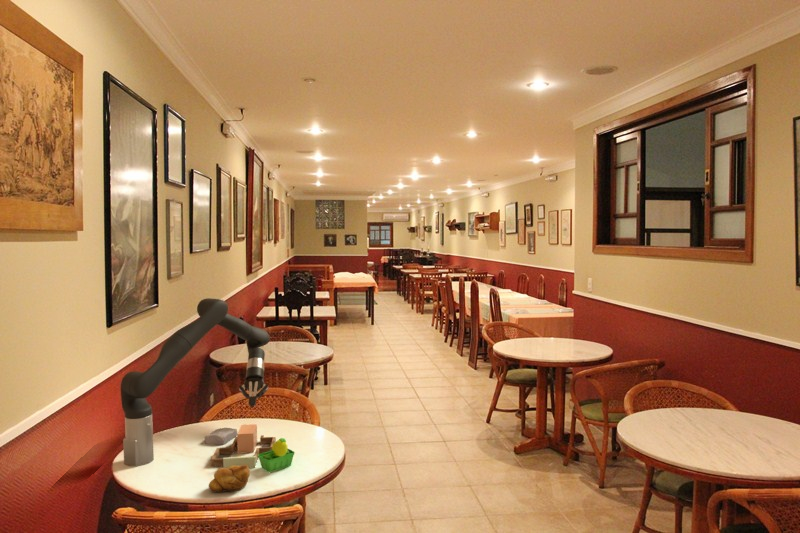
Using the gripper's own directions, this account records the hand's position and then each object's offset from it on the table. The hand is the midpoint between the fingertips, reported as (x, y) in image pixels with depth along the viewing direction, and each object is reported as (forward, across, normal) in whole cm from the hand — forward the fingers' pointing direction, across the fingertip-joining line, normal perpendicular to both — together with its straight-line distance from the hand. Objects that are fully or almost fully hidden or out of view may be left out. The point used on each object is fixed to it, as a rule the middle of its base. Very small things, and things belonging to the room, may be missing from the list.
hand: (252, 406), depth 239 cm
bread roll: (+46, -1, -28) cm, 54 cm away
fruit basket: (+35, +14, -18) cm, 42 cm away
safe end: (+34, 0, -17) cm, 38 cm away
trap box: (+25, 0, -8) cm, 26 cm away
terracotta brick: (+20, 0, -3) cm, 20 cm away
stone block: (+12, -12, +5) cm, 18 cm away
